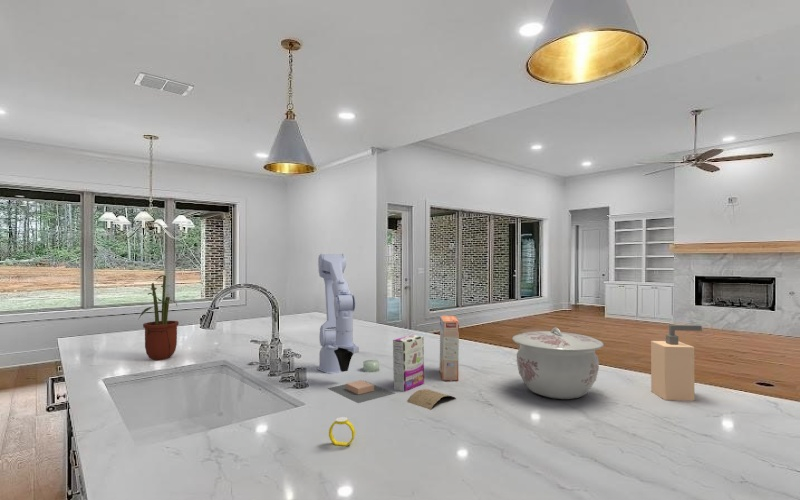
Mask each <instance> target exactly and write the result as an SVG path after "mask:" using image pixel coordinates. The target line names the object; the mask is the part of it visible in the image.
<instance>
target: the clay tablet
mask: <svg viewBox="0 0 800 500" xmlns="http://www.w3.org/2000/svg"><path fill="white" fill-rule="evenodd" d="M444 397H448V398H453V399H456V397H455V396H452V395H449V394H444V393H441V392H438V391H434V390H432V389H427V388H425V389H424V388H423V389H418V390H416V391H415V392H414V393H412V394H411V395H410V396H409V397H408V399H407V400H406V403H408V404H411V405H415V406H418V407H421V408H424V409H427V410H432V408H433V407H434V406H435V404H436V403H437V402H438V401H440V400H441V398H444Z"/></svg>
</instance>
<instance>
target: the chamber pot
mask: <svg viewBox="0 0 800 500" xmlns="http://www.w3.org/2000/svg"><path fill="white" fill-rule="evenodd" d="M511 340H512V341H513V342H514V343H516V345H517V344H518V345H519V349H518V350H517V352H516V364H517V370H518V374H519V375H520V377H521V379H522V381H523V382H524V384H525V386H526V387H527V388H528V389H529V390H530V391H531V392H532V393H535V394H537V395H539V396H543V397H545V398H549V399H553V400H572V399H578V398H581V397H584V396H586V395H587V393H589V391H590V390H591V389H592V387H593V385H594V384H595V383H596V381H597V379H598V373H599V369H600V368H599V364H600V363H599V357H598V355H597V353H596V350H599V349H601V348H603V347H604V346H605V344H604V342H603V341H602V340H599V339H597V338H593V337H592V336H588V335H585V334H584V335H583V334H579V333H574V332H573V333H572V332H566V331H561V330H560V329H559V328H558V327H553V328H552V329H551V331H549V330H543V331H542V330H540V331H529V332H523V333H518V334H516V335H513V336H512V338H511Z"/></svg>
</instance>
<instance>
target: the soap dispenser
mask: <svg viewBox="0 0 800 500" xmlns="http://www.w3.org/2000/svg"><path fill="white" fill-rule="evenodd" d="M702 330H703V326H702V325H699V324H669V325H668V334H665V340H651V341H650V359H651V361H650V362H651V363H650V365H651V366H650V369H651V370H650V374H651V375H650V378H651V379H650V382H651V383H650V385H651V387H650V389H651V390H650V392H652V393H653V394H655V395H656V396H658V397H659V398H661V399H663V400H664V401H678V402H679V401H680V402H682V401H683V402H684V401H685V402H694V401H695V399H696V398H695V346H692V345H691V344H687V343H684V342H682V341H679V336H678V335H676V331H694V332H696V331H697V332H698V331H699V332H701V331H702Z"/></svg>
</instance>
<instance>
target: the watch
mask: <svg viewBox="0 0 800 500" xmlns="http://www.w3.org/2000/svg"><path fill="white" fill-rule="evenodd" d="M335 425H347V427H349V429H350V431H351V438H350V440H349V441H348V442H345V441H338V440H337V439H336V438H334V435H333V427H334V426H335ZM328 437H329V440H330V442H331V443H333V445H334V446H340V447H341V446H344V447H348V446H349V445H350V444H352V442H353V441H354V439H355V437H356V429H355V427H354V425H353V423H352V422H351V421H349V418H348V417H346V416H341V417H337V418H336V419H335V421H333V423H331V425H330V426H329V429H328Z"/></svg>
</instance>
